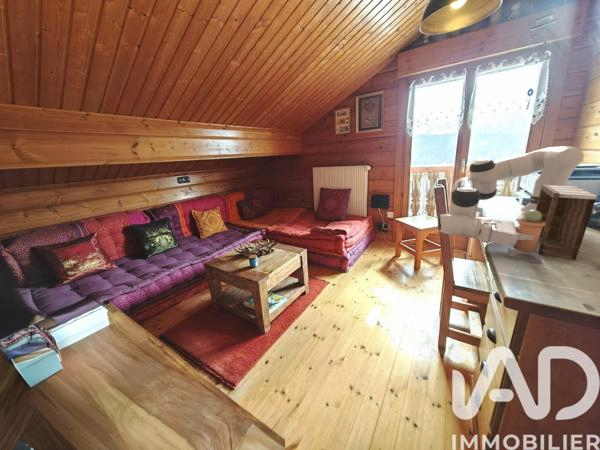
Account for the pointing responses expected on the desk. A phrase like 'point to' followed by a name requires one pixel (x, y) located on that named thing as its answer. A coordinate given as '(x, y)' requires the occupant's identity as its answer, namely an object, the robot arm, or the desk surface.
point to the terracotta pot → (530, 231)
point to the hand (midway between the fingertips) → (532, 234)
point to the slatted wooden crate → (564, 219)
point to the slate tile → (524, 256)
